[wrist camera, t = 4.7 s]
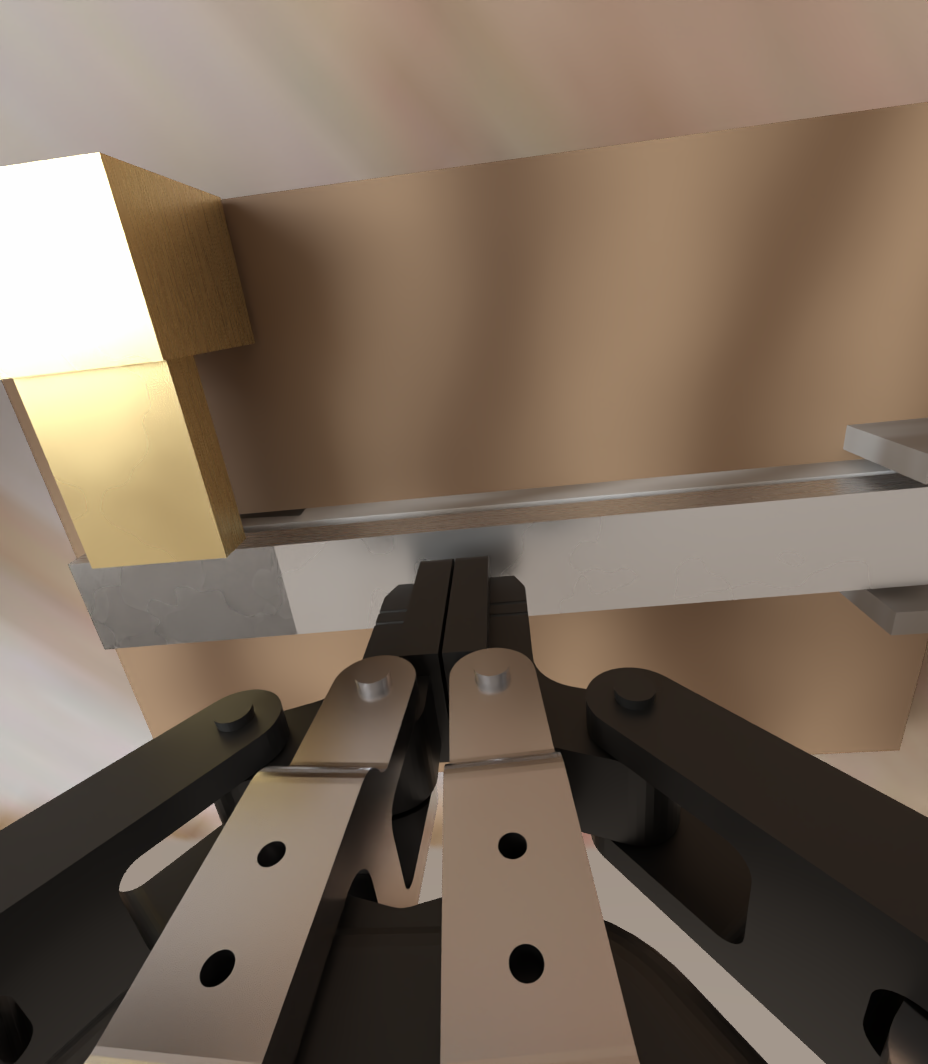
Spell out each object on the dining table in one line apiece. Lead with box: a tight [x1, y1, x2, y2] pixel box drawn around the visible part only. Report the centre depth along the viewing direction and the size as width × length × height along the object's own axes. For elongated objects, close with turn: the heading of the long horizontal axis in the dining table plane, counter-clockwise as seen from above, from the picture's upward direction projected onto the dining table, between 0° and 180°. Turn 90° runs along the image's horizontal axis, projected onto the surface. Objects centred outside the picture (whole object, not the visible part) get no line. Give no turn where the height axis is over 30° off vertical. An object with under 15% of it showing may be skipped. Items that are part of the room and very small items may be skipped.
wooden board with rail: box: [1, 102, 928, 772], centre depth 14 cm, size 24×17×4 cm
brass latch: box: [0, 152, 255, 569], centre depth 12 cm, size 4×7×4 cm, turn 6°
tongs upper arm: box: [68, 473, 928, 649], centre depth 13 cm, size 20×2×1 cm, turn 96°
